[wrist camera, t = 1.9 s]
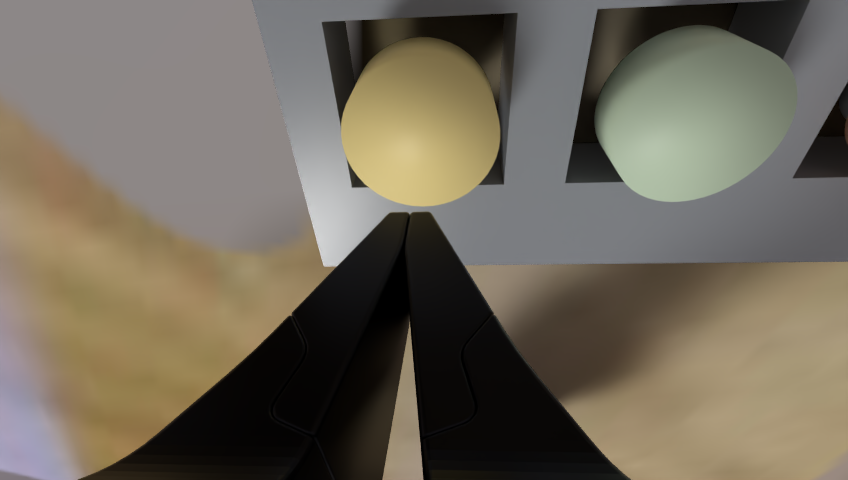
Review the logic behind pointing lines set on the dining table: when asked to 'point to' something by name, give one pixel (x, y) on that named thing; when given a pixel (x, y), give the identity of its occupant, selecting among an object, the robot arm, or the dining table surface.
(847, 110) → the button terracotta
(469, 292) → the robot arm
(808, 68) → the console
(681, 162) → the button sage
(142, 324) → the dining table surface
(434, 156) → the button mustard
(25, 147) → the dining table surface
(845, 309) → the dining table surface
